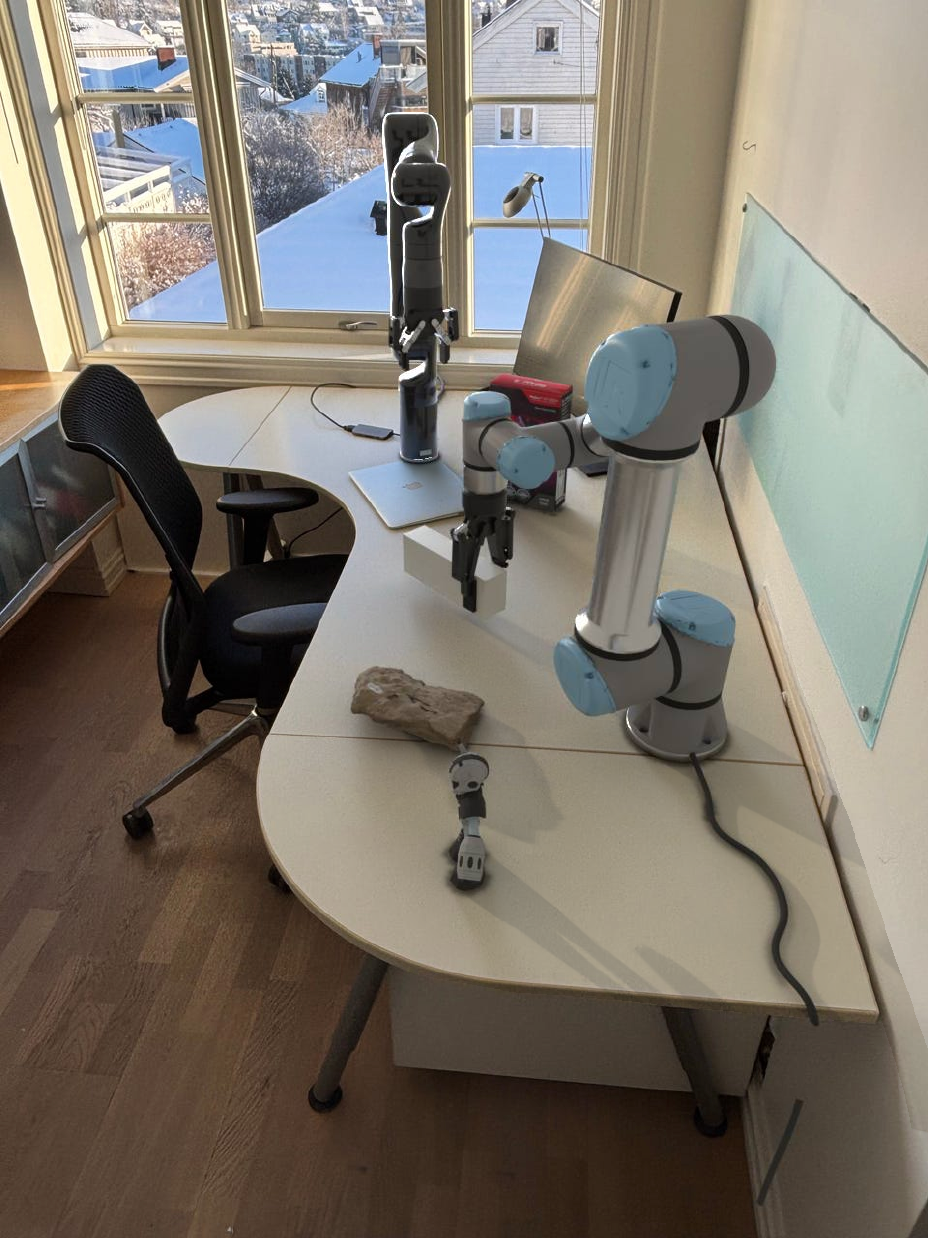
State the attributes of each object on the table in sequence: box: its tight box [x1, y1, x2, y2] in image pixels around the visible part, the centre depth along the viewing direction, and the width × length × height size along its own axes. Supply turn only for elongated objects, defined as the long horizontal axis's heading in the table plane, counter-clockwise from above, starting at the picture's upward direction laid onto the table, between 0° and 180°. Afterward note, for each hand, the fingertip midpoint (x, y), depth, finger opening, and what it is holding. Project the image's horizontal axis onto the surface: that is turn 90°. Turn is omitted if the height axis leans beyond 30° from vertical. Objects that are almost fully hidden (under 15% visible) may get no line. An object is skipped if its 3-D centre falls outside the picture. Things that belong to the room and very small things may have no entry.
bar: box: [402, 524, 508, 621], centre depth 169 cm, size 22×5×8 cm, turn 43°
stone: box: [349, 665, 486, 752], centre depth 143 cm, size 21×15×6 cm
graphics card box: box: [489, 372, 574, 513], centre depth 201 cm, size 17×7×27 cm, turn 62°
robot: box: [448, 739, 490, 891], centre depth 115 cm, size 20×5×20 cm, turn 3°
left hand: (424, 366), depth 181 cm, fingers open, 8 cm apart
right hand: (481, 602), depth 166 cm, fingers closed on bar, 5 cm apart
